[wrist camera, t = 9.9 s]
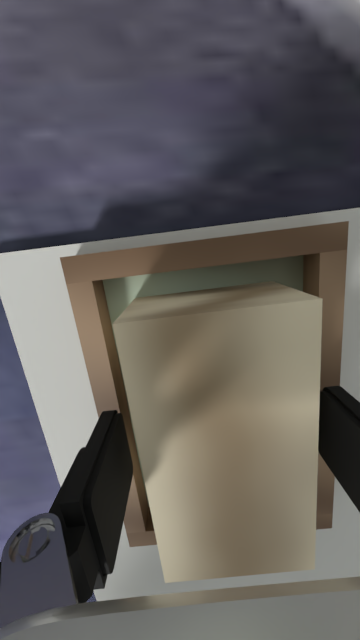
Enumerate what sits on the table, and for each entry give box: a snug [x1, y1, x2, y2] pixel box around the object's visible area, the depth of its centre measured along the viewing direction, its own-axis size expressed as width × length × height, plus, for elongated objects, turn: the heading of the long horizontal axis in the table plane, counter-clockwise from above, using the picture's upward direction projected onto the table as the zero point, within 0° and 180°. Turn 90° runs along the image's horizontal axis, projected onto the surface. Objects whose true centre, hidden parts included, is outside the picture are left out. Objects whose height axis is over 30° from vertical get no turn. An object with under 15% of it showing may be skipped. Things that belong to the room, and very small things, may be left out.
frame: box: [60, 221, 349, 547], centre depth 12 cm, size 15×11×2 cm
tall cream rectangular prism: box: [112, 281, 323, 583], centre depth 11 cm, size 6×11×4 cm, turn 7°
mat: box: [0, 208, 360, 601], centre depth 15 cm, size 29×18×1 cm, turn 7°
